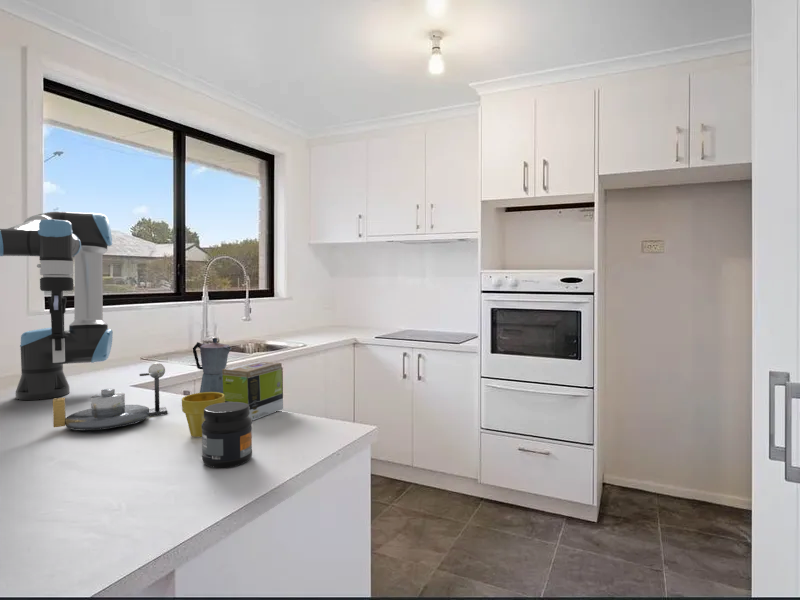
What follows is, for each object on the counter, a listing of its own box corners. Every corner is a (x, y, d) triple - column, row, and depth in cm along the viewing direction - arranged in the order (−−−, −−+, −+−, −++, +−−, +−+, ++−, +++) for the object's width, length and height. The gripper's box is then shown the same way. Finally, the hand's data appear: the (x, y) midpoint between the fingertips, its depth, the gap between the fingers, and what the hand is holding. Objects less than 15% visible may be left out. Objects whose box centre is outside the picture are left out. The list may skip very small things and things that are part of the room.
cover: (92, 412, 137) (91, 388, 137) (124, 408, 141) (124, 385, 141) (90, 419, 131) (90, 394, 130) (125, 414, 135) (124, 390, 134)
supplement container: (261, 454, 112) (260, 402, 112) (235, 471, 102) (235, 414, 101) (220, 450, 114) (219, 399, 114) (191, 467, 104) (190, 411, 104)
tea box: (258, 406, 155) (258, 360, 154) (283, 410, 150) (283, 362, 150) (222, 418, 141) (221, 367, 141) (248, 423, 137) (248, 370, 136)
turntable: (56, 417, 138) (56, 392, 138) (146, 406, 150) (146, 383, 149) (50, 436, 121) (49, 408, 120) (152, 422, 132) (151, 396, 132)
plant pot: (183, 442, 120) (183, 403, 120) (181, 431, 129) (180, 394, 129) (228, 436, 125) (227, 398, 125) (222, 425, 134) (221, 390, 134)
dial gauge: (139, 413, 146) (138, 362, 146) (165, 410, 150) (164, 360, 149) (140, 417, 142) (139, 365, 142) (167, 414, 146) (166, 363, 145)
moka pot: (224, 399, 164) (223, 339, 163) (183, 397, 167) (182, 338, 166) (239, 393, 173) (238, 336, 172) (200, 391, 176) (199, 335, 175)
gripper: (42, 276, 138) (44, 360, 139) (37, 276, 127) (39, 366, 128) (74, 276, 142) (76, 358, 143) (72, 276, 131) (74, 364, 131)
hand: (59, 362), depth 135 cm, fingers closed
